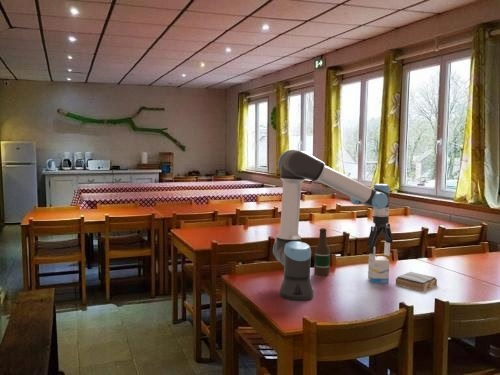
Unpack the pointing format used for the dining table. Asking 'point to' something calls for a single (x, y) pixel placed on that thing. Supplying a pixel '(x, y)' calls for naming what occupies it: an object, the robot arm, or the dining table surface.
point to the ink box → (378, 270)
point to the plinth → (416, 281)
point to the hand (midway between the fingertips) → (379, 257)
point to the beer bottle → (322, 255)
